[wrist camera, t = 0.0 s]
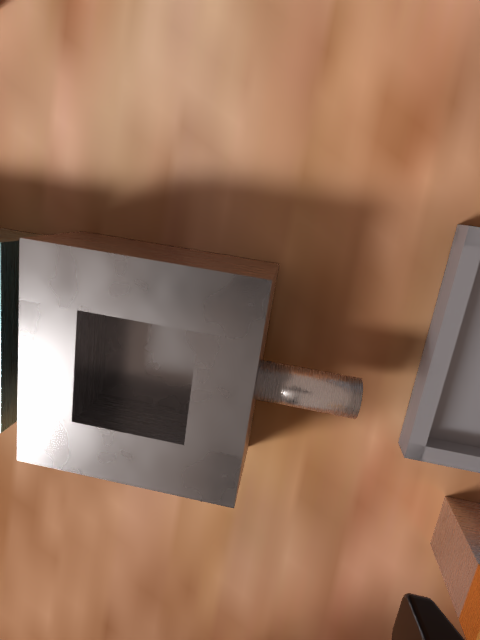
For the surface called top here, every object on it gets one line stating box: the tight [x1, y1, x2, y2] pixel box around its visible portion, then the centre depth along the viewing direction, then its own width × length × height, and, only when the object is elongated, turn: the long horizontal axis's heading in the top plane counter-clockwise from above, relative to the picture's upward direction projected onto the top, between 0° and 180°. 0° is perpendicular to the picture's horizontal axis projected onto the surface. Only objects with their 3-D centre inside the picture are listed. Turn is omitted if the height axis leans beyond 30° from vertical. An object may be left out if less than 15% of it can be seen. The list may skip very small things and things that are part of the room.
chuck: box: [0, 228, 363, 508], centre depth 21 cm, size 10×25×5 cm, turn 83°
